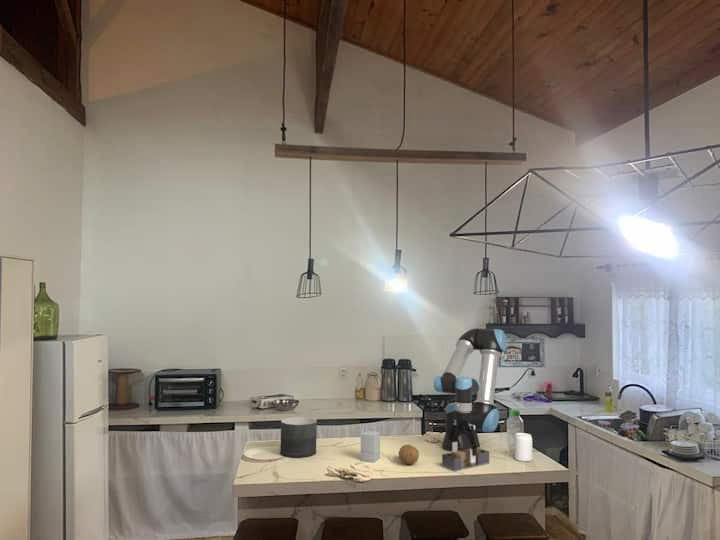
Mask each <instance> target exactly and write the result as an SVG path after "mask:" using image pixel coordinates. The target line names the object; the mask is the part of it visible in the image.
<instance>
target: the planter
mask: <svg viewBox="0 0 720 540" xmlns="http://www.w3.org/2000/svg"><path fill="white" fill-rule="evenodd" d="M317 429H318V421H317V419H316V418H313V417H308V416H292V417H287V418H283V419H281V420H280V455H281V456H284V457H286V458H293V459H295V458H296V459H299V458H300V459H301V458H308V457H312V456H314V455H315V454H317V436H318V435H317V433H318V430H317Z"/></svg>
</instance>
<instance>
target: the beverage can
mask: <svg viewBox="0 0 720 540" xmlns="http://www.w3.org/2000/svg"><path fill="white" fill-rule="evenodd" d="M514 459H515V460H517V461H519V462H521V461H523V462H522V463H529V462H531V461H533V437H532V434H530V433H526V432H517V433H515V435H514Z"/></svg>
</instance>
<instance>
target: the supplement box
mask: <svg viewBox="0 0 720 540" xmlns="http://www.w3.org/2000/svg"><path fill="white" fill-rule="evenodd" d="M380 459H381V432H380V431H373V430H372V431H371V430H365V431H363V432H362V433H360V461H362V462H370V463H376V462H377V461H379V460H380Z"/></svg>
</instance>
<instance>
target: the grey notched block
mask: <svg viewBox="0 0 720 540" xmlns="http://www.w3.org/2000/svg"><path fill="white" fill-rule="evenodd" d="M478 449H481V452H480V453H477V463H476V464H472V465H467V466H463V467H461V457H456V458H454V457H451V456H450V453H451V452H449V453H443V454H442V455H441V456H442V460H441V461H442V463H441V464H442V466H441V467H442V468H444V469H446V470H448V471H451V472H455V473H456V472H459V471H464V470H467V469H472V468H476V467H481V466H485V465H489V464H490V450H489V451H488V450H485V449H483V448H480V447H479V448H478ZM463 469H464V470H463Z"/></svg>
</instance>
